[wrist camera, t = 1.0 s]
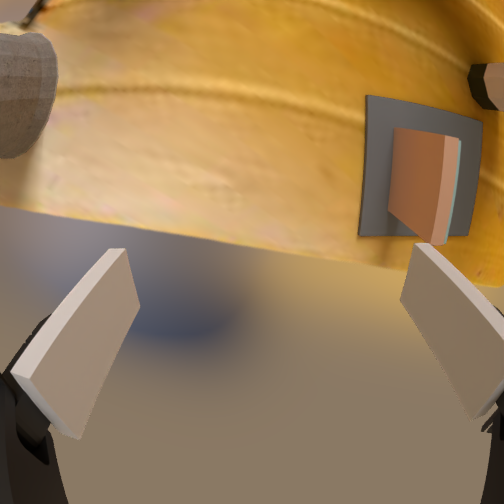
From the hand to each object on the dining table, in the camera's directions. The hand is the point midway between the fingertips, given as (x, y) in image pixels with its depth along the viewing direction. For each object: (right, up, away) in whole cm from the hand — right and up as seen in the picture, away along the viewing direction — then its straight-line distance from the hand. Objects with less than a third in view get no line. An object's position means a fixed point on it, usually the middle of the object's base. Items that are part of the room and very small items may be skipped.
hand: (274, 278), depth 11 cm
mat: (+25, +13, +25) cm, 38 cm away
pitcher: (-46, +28, +18) cm, 57 cm away
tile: (+19, +12, +24) cm, 33 cm away
